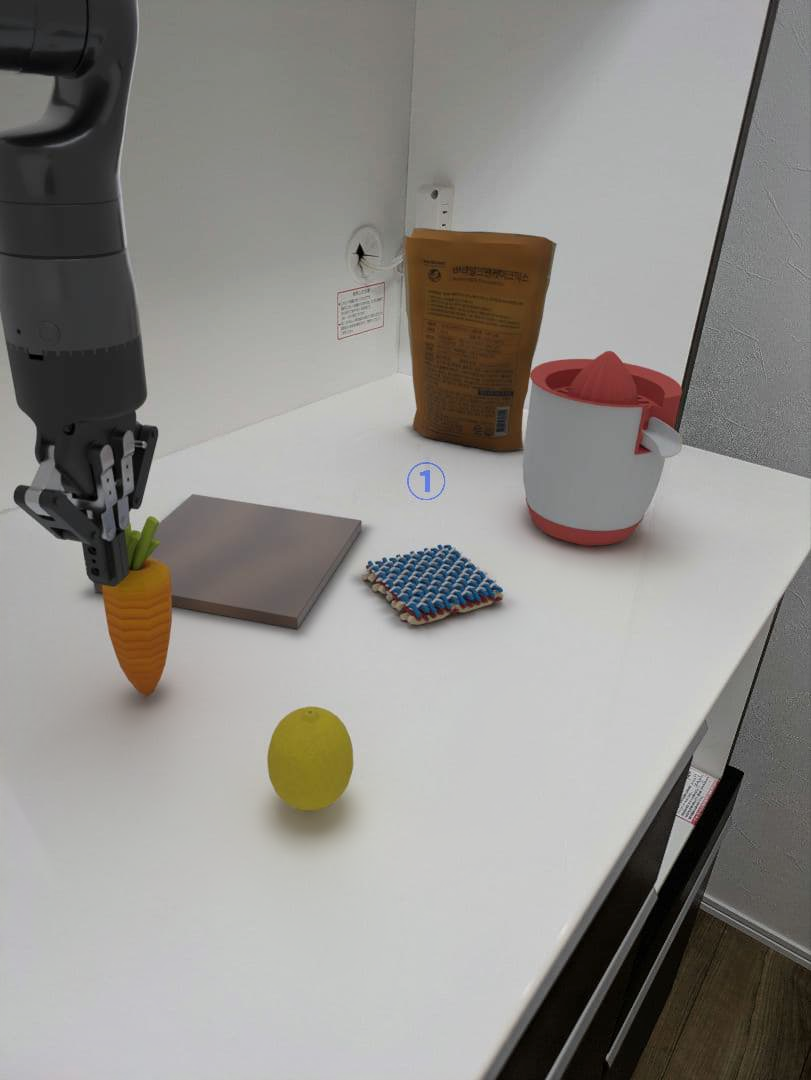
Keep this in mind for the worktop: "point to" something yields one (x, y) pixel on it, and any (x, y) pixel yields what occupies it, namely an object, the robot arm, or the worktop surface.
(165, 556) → the walnut board
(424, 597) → the woven mat
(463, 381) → the pancake mix bag
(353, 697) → the worktop surface
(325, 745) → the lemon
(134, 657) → the carrot
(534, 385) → the citrus juicer
